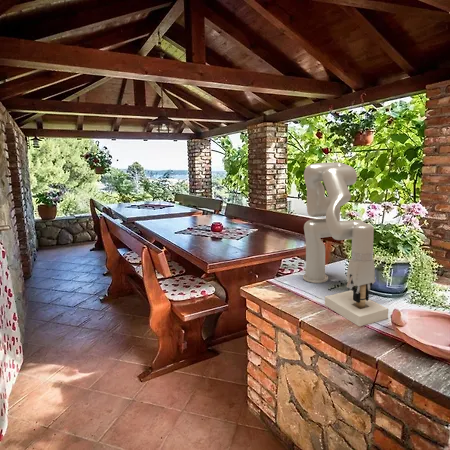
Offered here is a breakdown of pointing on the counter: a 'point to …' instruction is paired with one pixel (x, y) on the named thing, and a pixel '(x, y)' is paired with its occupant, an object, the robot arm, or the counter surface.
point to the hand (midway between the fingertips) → (360, 299)
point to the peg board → (356, 309)
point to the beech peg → (362, 297)
